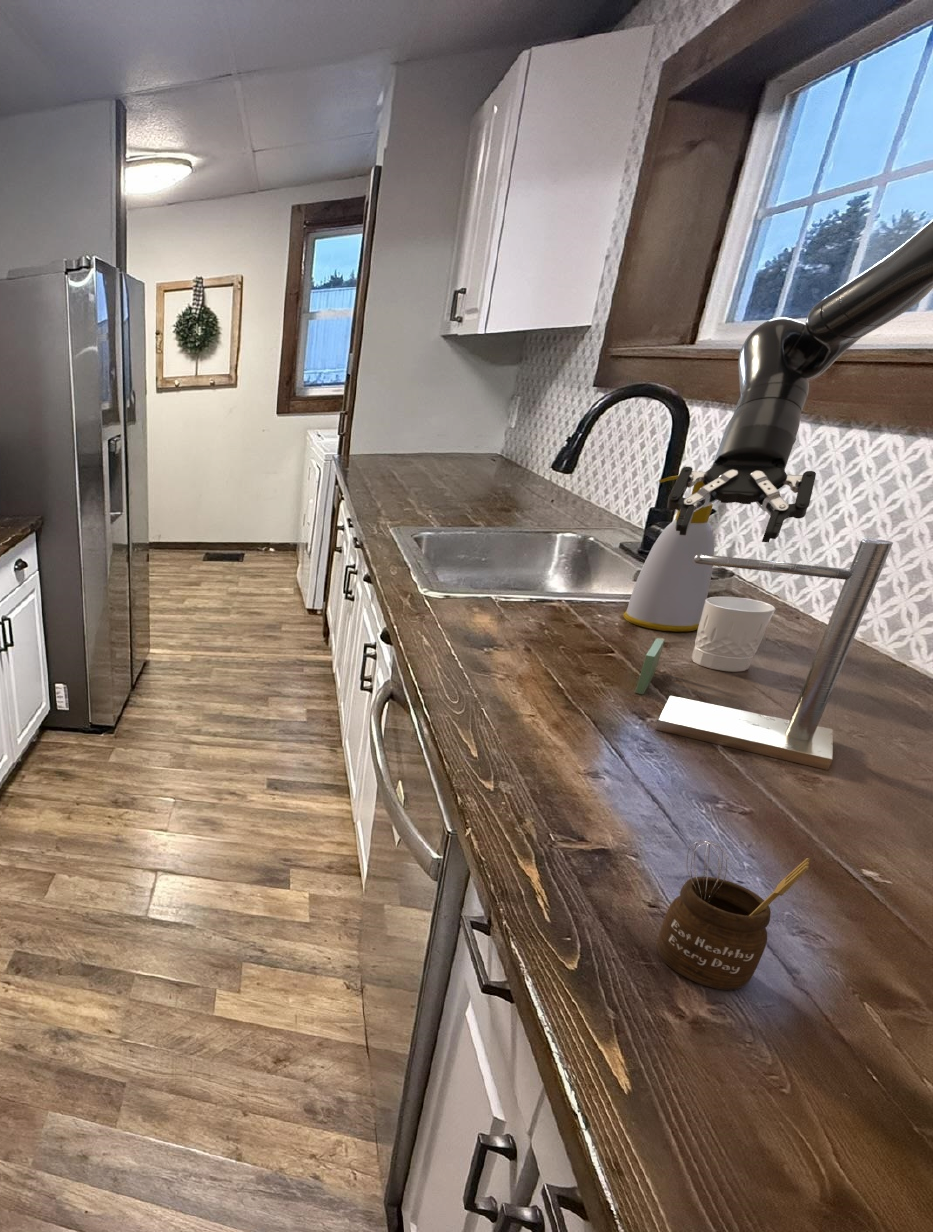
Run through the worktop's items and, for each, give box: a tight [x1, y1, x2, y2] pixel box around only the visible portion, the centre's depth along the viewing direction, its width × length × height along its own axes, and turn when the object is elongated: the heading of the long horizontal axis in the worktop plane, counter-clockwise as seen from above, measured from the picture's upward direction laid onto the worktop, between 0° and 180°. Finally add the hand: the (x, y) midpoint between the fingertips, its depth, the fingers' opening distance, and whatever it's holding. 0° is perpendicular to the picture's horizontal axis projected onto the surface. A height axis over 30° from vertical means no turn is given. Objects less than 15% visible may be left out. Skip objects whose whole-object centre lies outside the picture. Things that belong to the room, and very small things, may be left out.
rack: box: [654, 538, 894, 771], centre depth 88 cm, size 18×10×26 cm, turn 44°
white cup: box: [691, 595, 776, 673], centre depth 111 cm, size 8×8×10 cm
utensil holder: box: [656, 840, 810, 991], centre depth 56 cm, size 6×6×12 cm
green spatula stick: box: [634, 637, 666, 695], centre depth 107 cm, size 1×6×12 cm
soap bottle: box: [622, 474, 715, 633], centre depth 126 cm, size 11×12×26 cm
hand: (723, 535), depth 98 cm, fingers open, 8 cm apart
